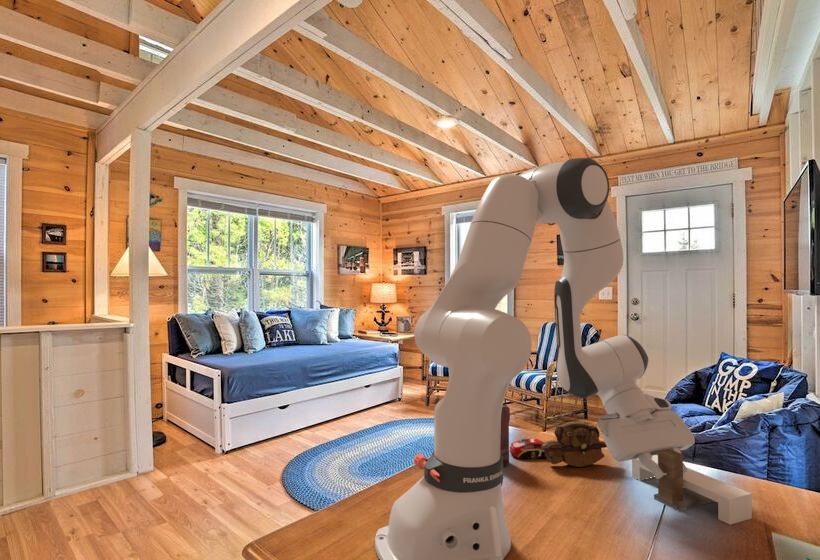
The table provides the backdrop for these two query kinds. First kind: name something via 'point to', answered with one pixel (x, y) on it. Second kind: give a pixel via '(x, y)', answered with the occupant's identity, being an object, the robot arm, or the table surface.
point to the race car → (527, 449)
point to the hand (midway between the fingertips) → (672, 475)
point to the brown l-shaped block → (676, 483)
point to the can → (505, 434)
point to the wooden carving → (575, 445)
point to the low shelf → (709, 492)
